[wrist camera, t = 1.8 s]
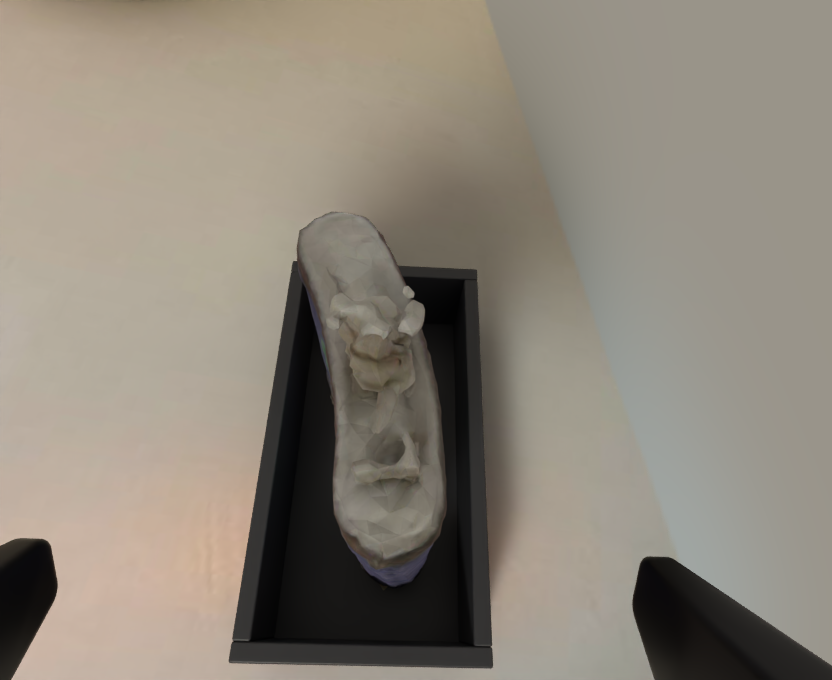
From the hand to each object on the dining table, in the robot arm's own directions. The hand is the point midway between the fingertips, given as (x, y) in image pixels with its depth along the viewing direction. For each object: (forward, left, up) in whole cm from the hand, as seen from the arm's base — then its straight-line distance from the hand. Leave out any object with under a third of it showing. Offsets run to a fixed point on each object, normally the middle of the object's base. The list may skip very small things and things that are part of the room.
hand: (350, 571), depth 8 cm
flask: (+5, 0, -11) cm, 12 cm away
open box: (+5, 0, -11) cm, 12 cm away
